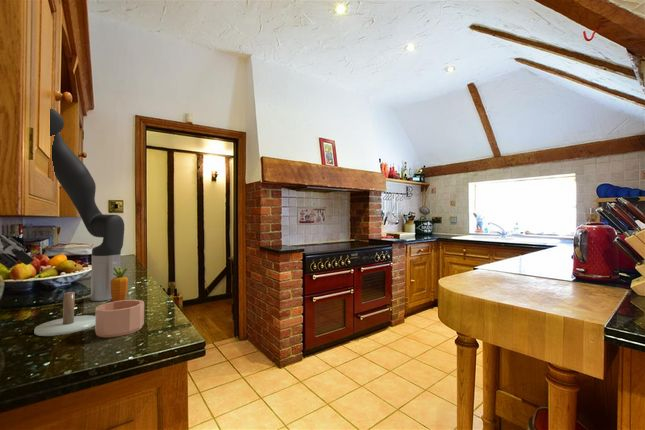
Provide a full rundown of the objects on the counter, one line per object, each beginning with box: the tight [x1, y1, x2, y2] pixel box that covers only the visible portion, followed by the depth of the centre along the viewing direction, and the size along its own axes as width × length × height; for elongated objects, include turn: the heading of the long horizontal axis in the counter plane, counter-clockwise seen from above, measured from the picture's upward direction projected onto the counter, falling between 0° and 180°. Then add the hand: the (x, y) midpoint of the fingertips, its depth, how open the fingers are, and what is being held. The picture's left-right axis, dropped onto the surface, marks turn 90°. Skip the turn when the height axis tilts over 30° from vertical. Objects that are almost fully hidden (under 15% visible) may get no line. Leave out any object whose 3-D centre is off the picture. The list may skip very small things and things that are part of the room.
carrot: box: [111, 267, 129, 302], centre depth 99 cm, size 5×5×15 cm
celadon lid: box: [33, 291, 95, 337], centre depth 84 cm, size 14×14×10 cm
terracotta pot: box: [94, 299, 145, 338], centre depth 81 cm, size 11×11×7 cm
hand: (22, 264), depth 80 cm, fingers open, 8 cm apart
